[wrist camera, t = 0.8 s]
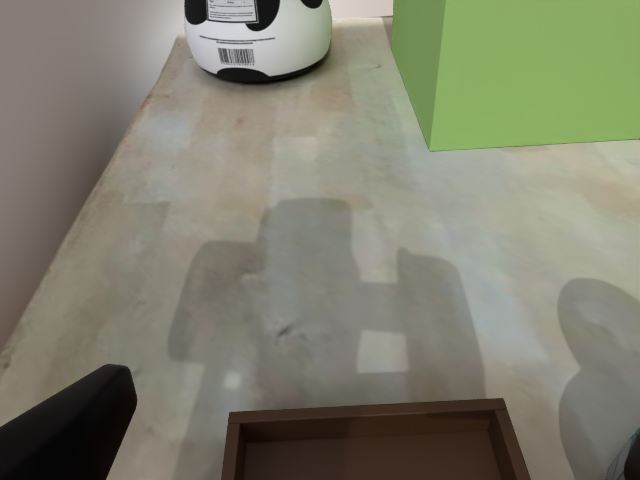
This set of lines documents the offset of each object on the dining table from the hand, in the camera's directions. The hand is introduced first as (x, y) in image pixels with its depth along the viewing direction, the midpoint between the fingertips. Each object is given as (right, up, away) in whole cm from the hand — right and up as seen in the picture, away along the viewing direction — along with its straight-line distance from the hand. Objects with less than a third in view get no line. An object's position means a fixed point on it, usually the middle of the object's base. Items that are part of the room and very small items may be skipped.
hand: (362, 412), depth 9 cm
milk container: (-8, +25, +54) cm, 60 cm away
